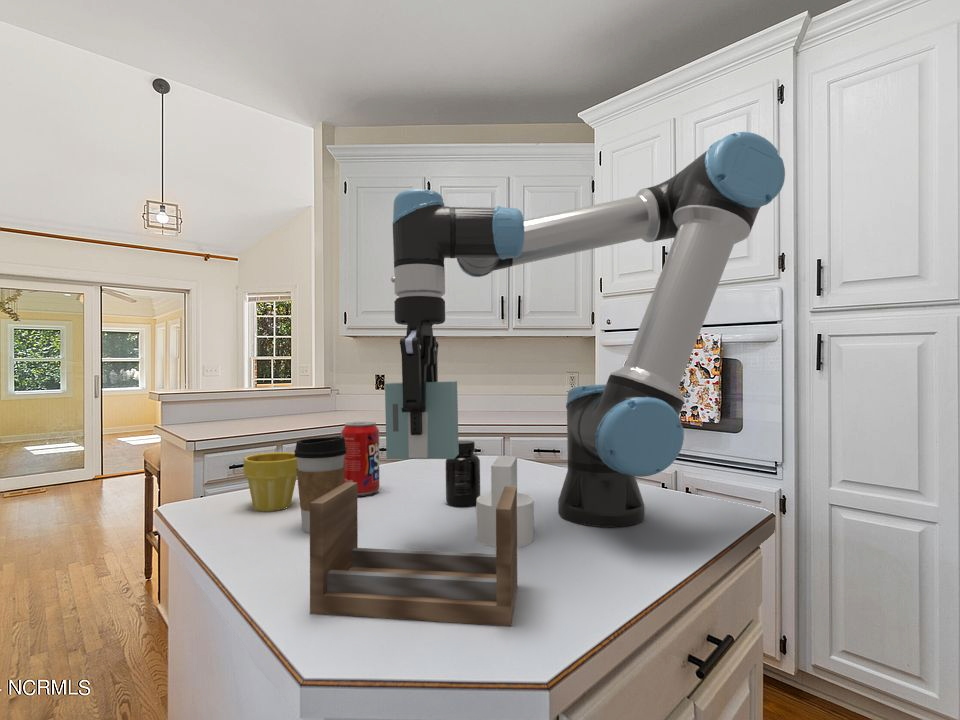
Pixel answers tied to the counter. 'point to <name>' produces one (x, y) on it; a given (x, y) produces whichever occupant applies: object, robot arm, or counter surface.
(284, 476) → the plant pot
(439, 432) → the door panel
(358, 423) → the soda can
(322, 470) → the coffee cup
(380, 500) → the counter surface
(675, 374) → the robot arm
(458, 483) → the supplement bottle
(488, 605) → the wooden book rack
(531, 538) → the cylinder with rectangular tab
